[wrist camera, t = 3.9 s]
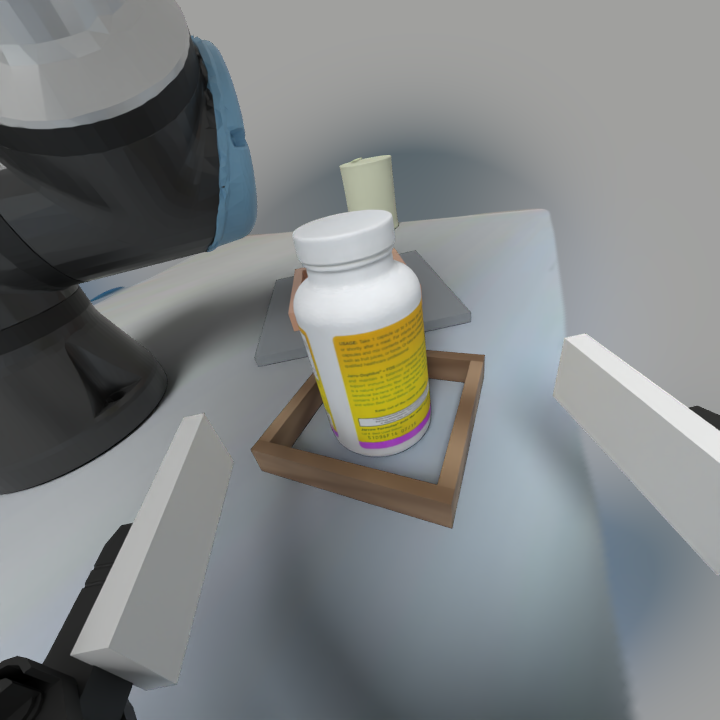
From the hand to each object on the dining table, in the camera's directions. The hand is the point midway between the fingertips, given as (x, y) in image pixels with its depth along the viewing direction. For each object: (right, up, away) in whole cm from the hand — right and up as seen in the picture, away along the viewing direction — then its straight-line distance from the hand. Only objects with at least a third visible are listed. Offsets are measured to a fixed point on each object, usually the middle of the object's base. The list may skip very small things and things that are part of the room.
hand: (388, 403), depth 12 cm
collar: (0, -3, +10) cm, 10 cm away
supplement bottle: (0, -3, +10) cm, 10 cm away
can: (+2, +27, +52) cm, 59 cm away
